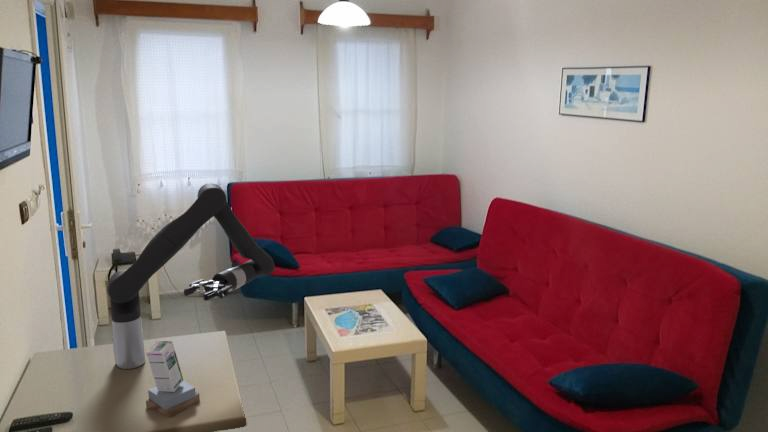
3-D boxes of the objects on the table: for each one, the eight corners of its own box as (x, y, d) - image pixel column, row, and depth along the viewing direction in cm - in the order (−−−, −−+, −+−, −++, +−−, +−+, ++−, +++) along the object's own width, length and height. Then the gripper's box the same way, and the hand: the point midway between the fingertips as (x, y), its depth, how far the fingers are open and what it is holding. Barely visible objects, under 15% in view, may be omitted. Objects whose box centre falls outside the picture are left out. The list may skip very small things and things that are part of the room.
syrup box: (174, 392, 178) (163, 352, 172) (157, 391, 179) (145, 351, 173) (184, 380, 183) (173, 340, 177) (166, 379, 184) (155, 340, 179)
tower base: (146, 409, 180) (145, 400, 179) (175, 393, 189) (174, 384, 189) (171, 419, 175) (170, 410, 174) (199, 402, 184) (199, 393, 183)
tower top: (148, 398, 181) (147, 389, 180) (178, 385, 188) (177, 377, 187) (165, 410, 174) (164, 400, 174) (195, 396, 182) (195, 387, 181)
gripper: (213, 266, 205) (177, 280, 191) (245, 273, 199) (210, 288, 185) (214, 286, 207) (179, 302, 193) (246, 294, 201) (211, 310, 187)
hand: (194, 295), depth 189 cm, fingers open, 8 cm apart
